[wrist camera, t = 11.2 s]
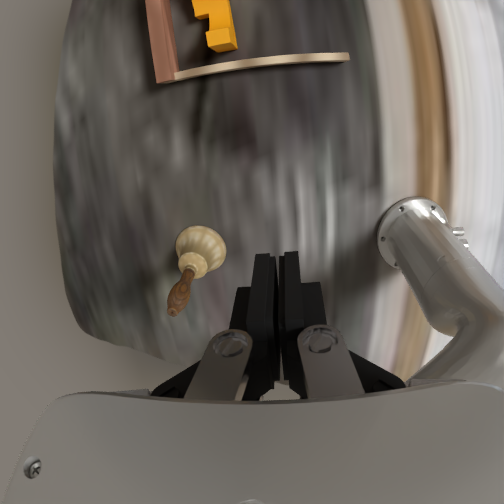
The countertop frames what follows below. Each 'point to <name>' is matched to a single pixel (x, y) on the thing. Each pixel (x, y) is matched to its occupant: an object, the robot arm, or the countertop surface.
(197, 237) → the hand bell
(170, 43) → the guide channel
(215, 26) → the pipe clamp
